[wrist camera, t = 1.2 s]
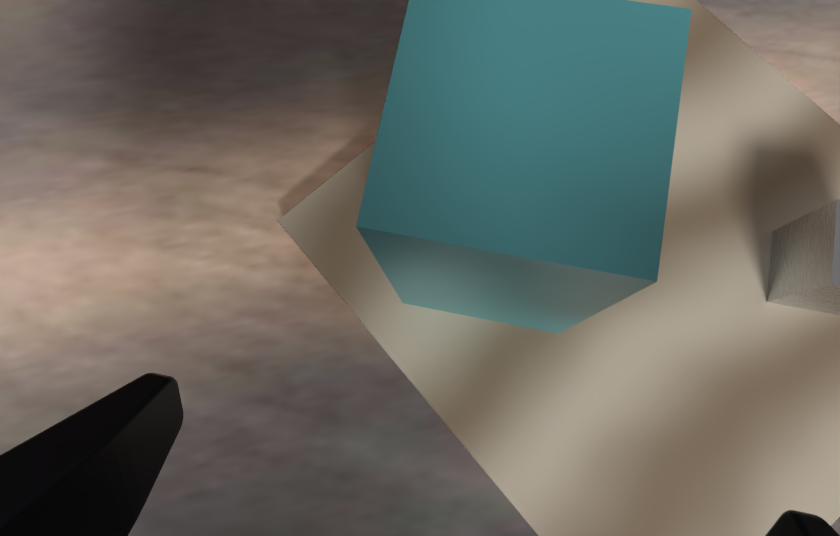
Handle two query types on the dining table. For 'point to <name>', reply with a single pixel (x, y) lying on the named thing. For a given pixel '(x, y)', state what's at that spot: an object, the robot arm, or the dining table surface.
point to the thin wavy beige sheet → (645, 334)
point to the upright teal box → (526, 156)
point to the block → (807, 262)
